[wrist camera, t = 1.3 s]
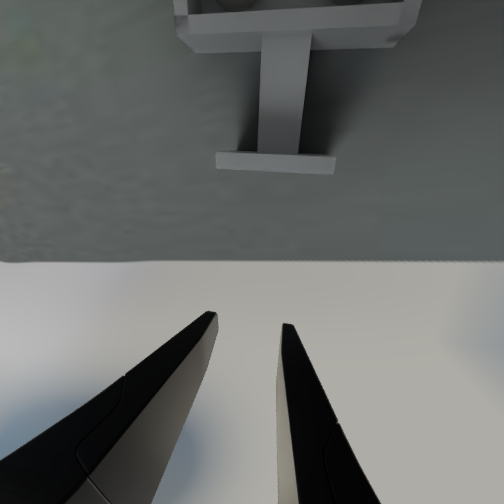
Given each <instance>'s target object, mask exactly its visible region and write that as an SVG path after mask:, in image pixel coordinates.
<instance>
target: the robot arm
mask: <svg viewBox="0 0 504 504" xmlns="http://www.w3.org/2000/svg"><path fill="white" fill-rule="evenodd" d="M217 333H218V315H217V313H216V312H211V311H207V312H205V313H204V314H202V315H201V316H200V317H198V318H197V319H196V320H194V322H192V323H191V324H190V325H188V326H187V327H185V328H184V329H183V330H182V331H180V332H179V333H178V334H176V335H175V336H174V337H172V338H171V339H170V340H169V341H168V342H166V343H165V344H163V345H162V346H161V347H159V348H158V349H157V350H156V351H154V352H153V353H152V354H150V355H149V356H148V357H147V358H145V359H144V360H143V361H141V362H140V363H139V364H137V365H136V366H135V367H133V368H132V369H131V370H130V371H128V372H127V373H126V374H125V376H122V377H120V378H119V379H118V380H116V381H115V382H114V383H113V384H111V385H110V386H109V387H107V388H106V389H105V390H103V391H102V392H100V394H98V395H96V396H95V397H94V398H92V399H91V400H89V401H88V402H87V403H85V404H84V405H82V406H81V407H80V408H78V409H76V410H75V411H74V412H72V413H71V414H69V415H68V416H66V417H65V418H63V419H62V420H60V421H59V422H57V423H56V424H54V425H53V426H51V427H50V428H48V429H47V430H45V431H44V432H42V433H41V434H39V435H38V436H36V437H35V438H33V439H32V440H30V441H29V442H27V443H26V444H24V445H23V446H21V447H20V448H18V449H17V450H15V451H14V452H12V453H11V454H9V455H7V456H6V457H5V458H3V459H1V460H0V504H151V502H152V500H153V498H154V495H155V493H156V491H157V488H158V486H159V483H160V481H161V478H162V476H163V473H164V471H165V469H166V466H167V464H168V461H169V459H170V457H171V455H172V452H173V450H174V447H175V445H176V442H177V440H178V438H179V435H180V433H181V430H182V428H183V426H184V423H185V421H186V418H187V416H188V414H189V411H190V409H191V406H192V404H193V402H194V399H195V397H196V394H197V392H198V389H199V387H200V385H201V382H202V380H203V377H204V375H205V372H206V370H207V367H208V363H209V360H210V356H211V353H212V350H213V347H214V343H215V340H216V336H217ZM276 408H277V409H276V412H277V463H278V504H381V503H380V501H379V499H378V497H377V496H376V494H375V492H374V490H373V488H372V486H371V485H370V483H369V481H368V479H367V477H366V475H365V474H364V472H363V470H362V468H361V466H360V464H359V463H358V460H357V458H356V456H355V454H354V452H353V450H352V448H351V446H350V444H349V442H348V440H347V438H346V436H345V434H344V432H343V430H342V427H341V426H340V424H339V423H338V419H337V417H336V415H335V413H334V411H333V408H332V407H331V404H330V402H329V400H328V398H327V396H326V393H325V391H324V389H323V387H322V385H321V383H320V381H319V378H318V376H317V374H316V372H315V370H314V368H313V365H312V363H311V361H310V359H309V357H308V355H307V353H306V350H305V348H304V346H303V344H302V342H301V340H300V338H299V335H298V333H297V331H296V329H295V327H294V325H292V324H287V323H283V324H282V330H281V338H280V347H279V358H278V368H277V380H276Z"/></svg>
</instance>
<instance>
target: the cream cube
mask: <svg viewBox="0 0 504 504" xmlns="http://www.w3.org/2000/svg"><path fill="white" fill-rule="evenodd" d="M331 1H332V2H333V3H335V4H337V5H339V6H348V5H357V4H359V3H362V2H363V1H365V0H331Z"/></svg>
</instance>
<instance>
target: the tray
mask: <svg viewBox="0 0 504 504" xmlns="http://www.w3.org/2000/svg"><path fill="white" fill-rule="evenodd" d="M173 4H174V14H175V25H176V35H177V36H178V37H179V38H180V39H181V40H182V41H183V42H184V43H185V44H186V45H188V46H189V47H190V48H191V49H192V50H193V51H194V52H195V53H196V54H201V53H235V52H261V73H260V98H259V123H258V148H257V151H222V152H215V154H216V169H234V170H252V171H271V172H289V173H307V174H326V175H334V170H335V165H336V159H337V157H335V156H331V155H326V154H306V153H298V148H299V139H300V131H301V123H302V114H303V106H304V97H305V89H306V80H307V72H308V64H309V55H310V50H336V49H370V48H393V47H394V46H395V45H396V44H397V43H398V42H399V41H400V40H401V39H402V38H403V37H404V36H405V35H406V34H407V33H408V32H409V31H410V30H411V29H412V28H413V27H414V26H415V25H416V22H417V18H418V15H419V11H420V8H421V4H422V0H365V1H363V2H362V3H359V4H357V5H348V6H339V5H337V4H335V3H333V2H332V1H331V0H257V1H256V3H255V4H254V5H253V6H252V7H250V8H249V9H248V10H246V11H243V12H228V11H226V10H225V9H223V8H222V7H221V6H220V5H219V4H218V3H217V2H216V0H173Z"/></svg>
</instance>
